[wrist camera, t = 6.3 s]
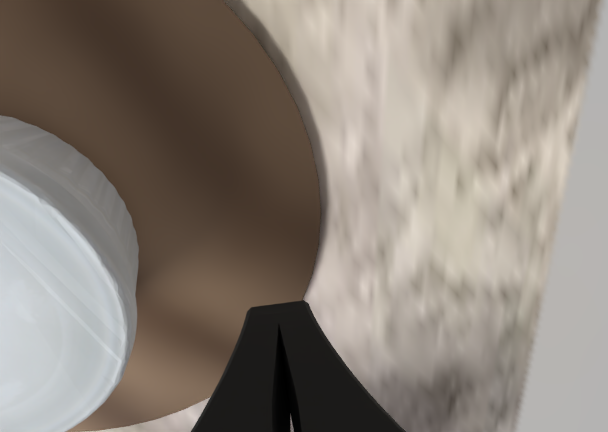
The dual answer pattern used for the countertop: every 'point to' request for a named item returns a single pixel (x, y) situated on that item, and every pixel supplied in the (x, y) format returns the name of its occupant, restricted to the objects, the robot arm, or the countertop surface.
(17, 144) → the ramekin
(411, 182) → the countertop surface
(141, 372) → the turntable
